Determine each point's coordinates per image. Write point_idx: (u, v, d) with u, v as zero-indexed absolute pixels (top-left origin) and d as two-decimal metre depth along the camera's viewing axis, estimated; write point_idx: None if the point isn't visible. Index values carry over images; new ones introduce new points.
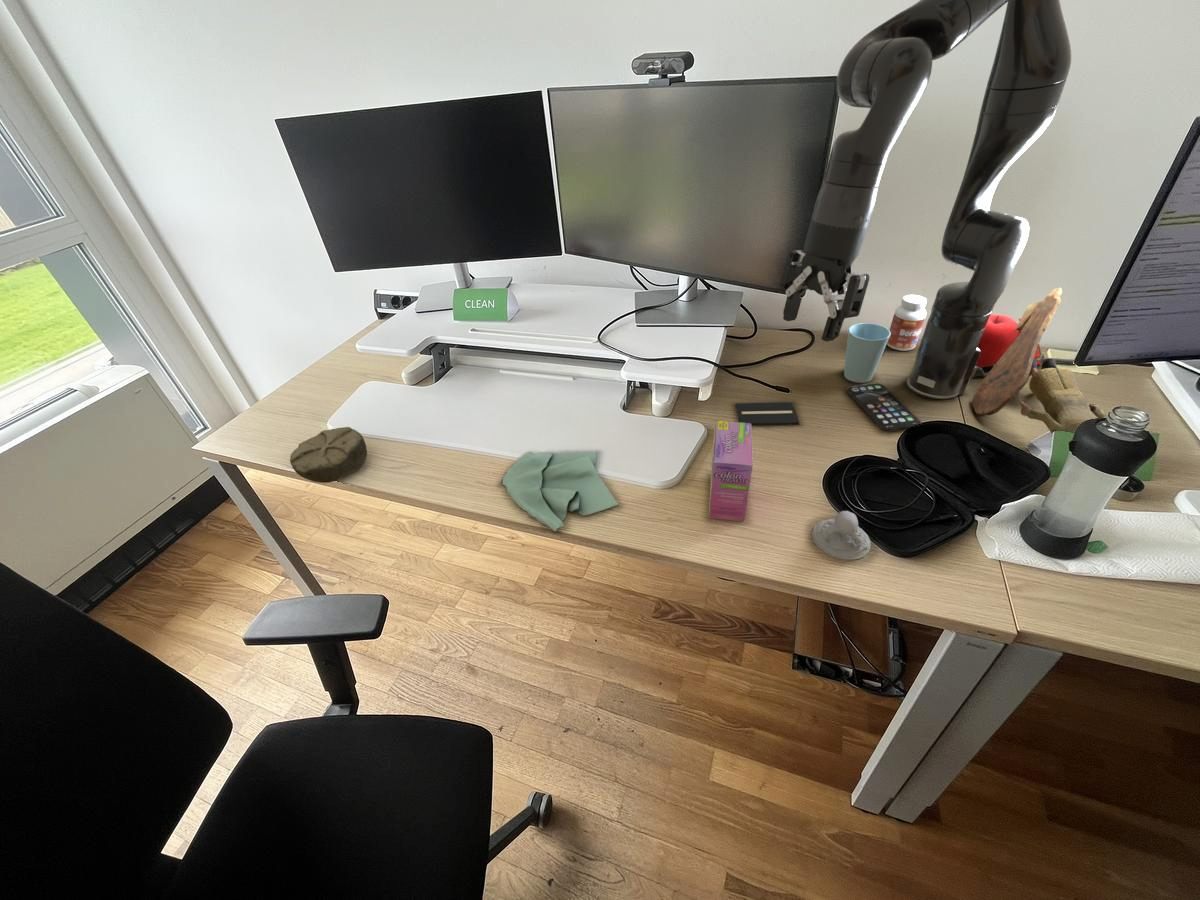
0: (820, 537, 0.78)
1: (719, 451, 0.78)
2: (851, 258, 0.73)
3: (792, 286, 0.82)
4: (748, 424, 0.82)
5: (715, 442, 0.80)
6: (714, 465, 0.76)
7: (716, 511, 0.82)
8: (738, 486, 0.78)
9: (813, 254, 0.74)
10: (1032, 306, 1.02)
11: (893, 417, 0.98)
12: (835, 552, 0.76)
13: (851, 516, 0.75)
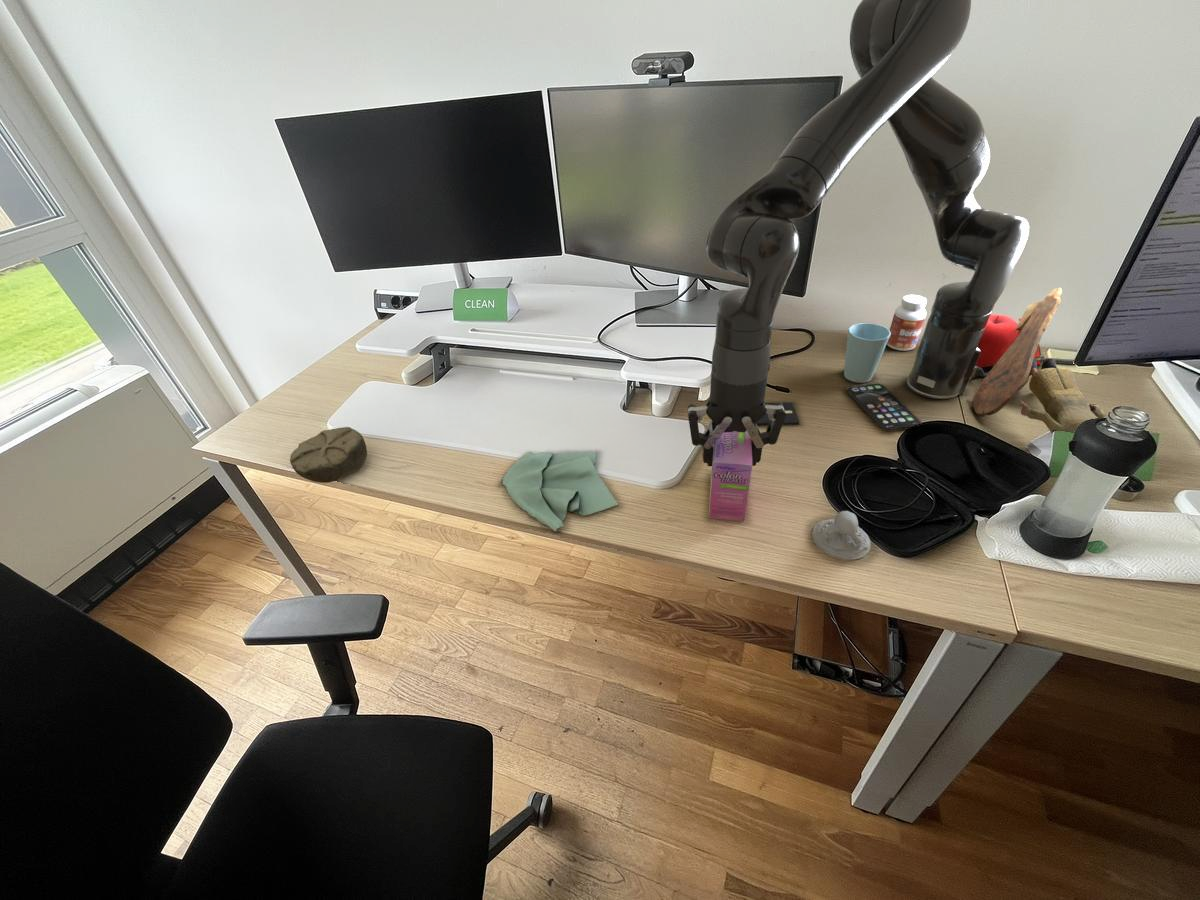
0: (820, 537, 0.78)
1: (718, 451, 0.78)
2: None
3: (710, 439, 0.78)
4: None
5: (715, 442, 0.80)
6: (714, 465, 0.76)
7: (716, 511, 0.82)
8: (737, 486, 0.78)
9: (743, 410, 0.71)
10: (1032, 306, 1.02)
11: (893, 417, 0.98)
12: (835, 552, 0.76)
13: (851, 516, 0.75)
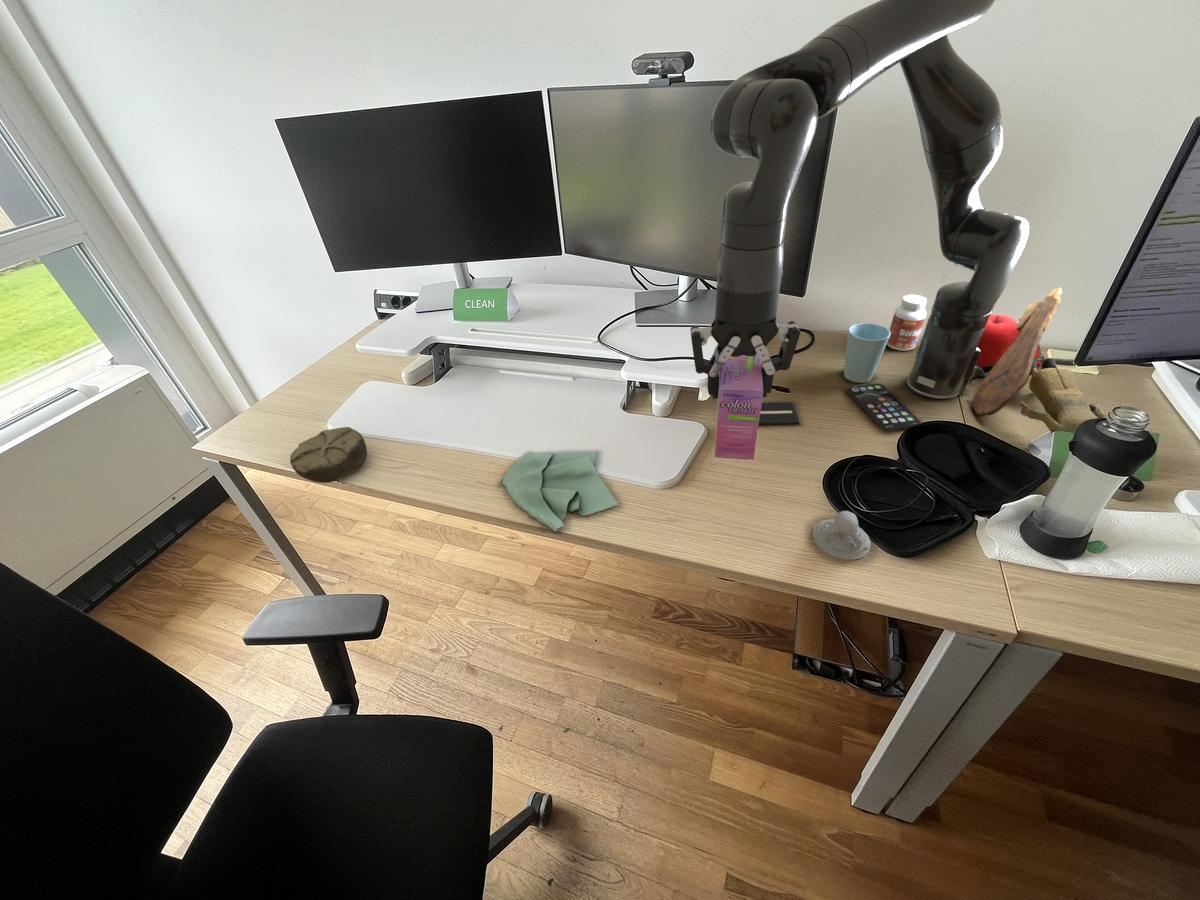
0: (820, 537, 0.78)
1: (725, 378, 0.70)
2: None
3: (715, 365, 0.70)
4: None
5: (721, 370, 0.72)
6: (720, 392, 0.69)
7: (723, 448, 0.74)
8: (746, 417, 0.70)
9: (753, 325, 0.64)
10: (1032, 306, 1.02)
11: (893, 417, 0.98)
12: (835, 552, 0.76)
13: (851, 517, 0.75)
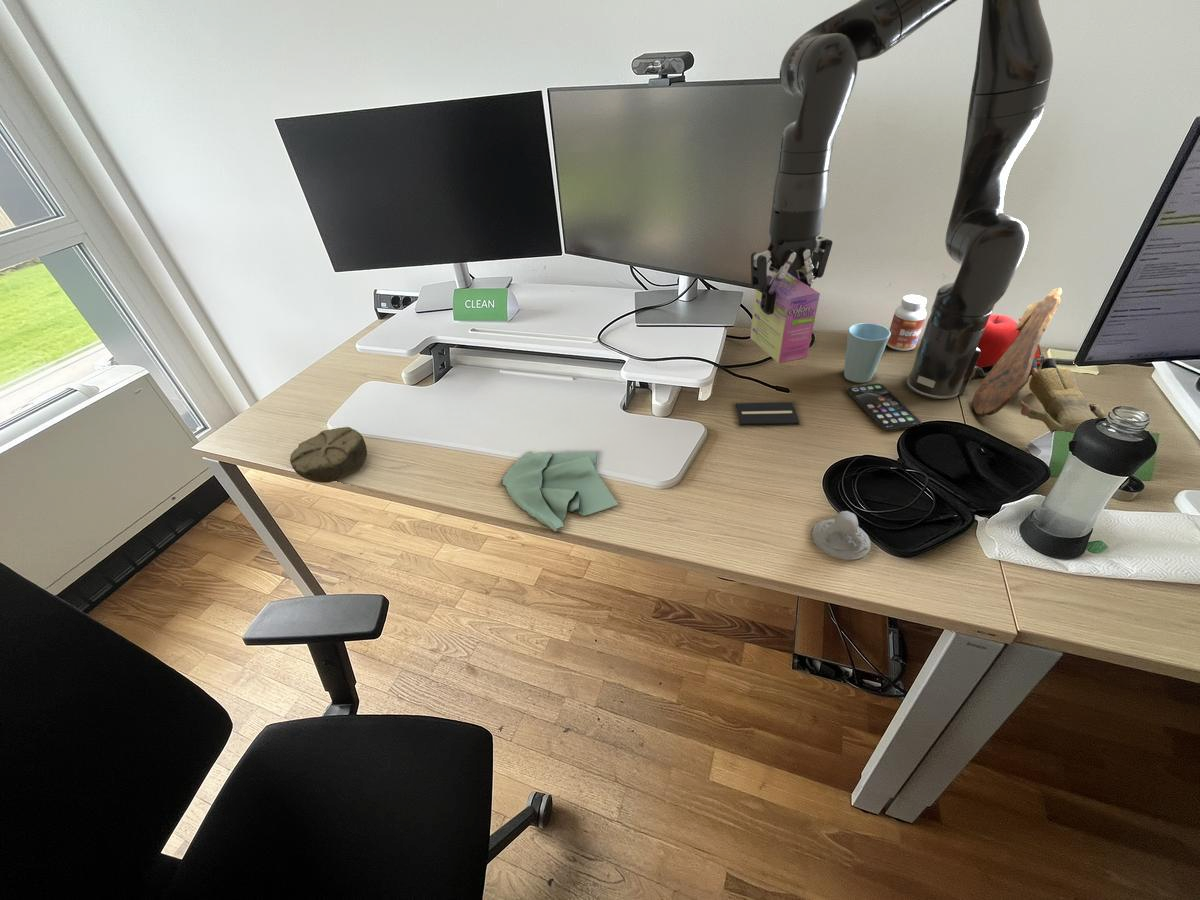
0: (820, 537, 0.78)
1: (784, 291, 0.84)
2: None
3: (774, 282, 0.84)
4: None
5: None
6: (789, 301, 0.83)
7: (785, 353, 0.89)
8: (806, 319, 0.86)
9: (812, 238, 0.79)
10: (1032, 306, 1.02)
11: (893, 417, 0.98)
12: (835, 552, 0.76)
13: (851, 517, 0.75)
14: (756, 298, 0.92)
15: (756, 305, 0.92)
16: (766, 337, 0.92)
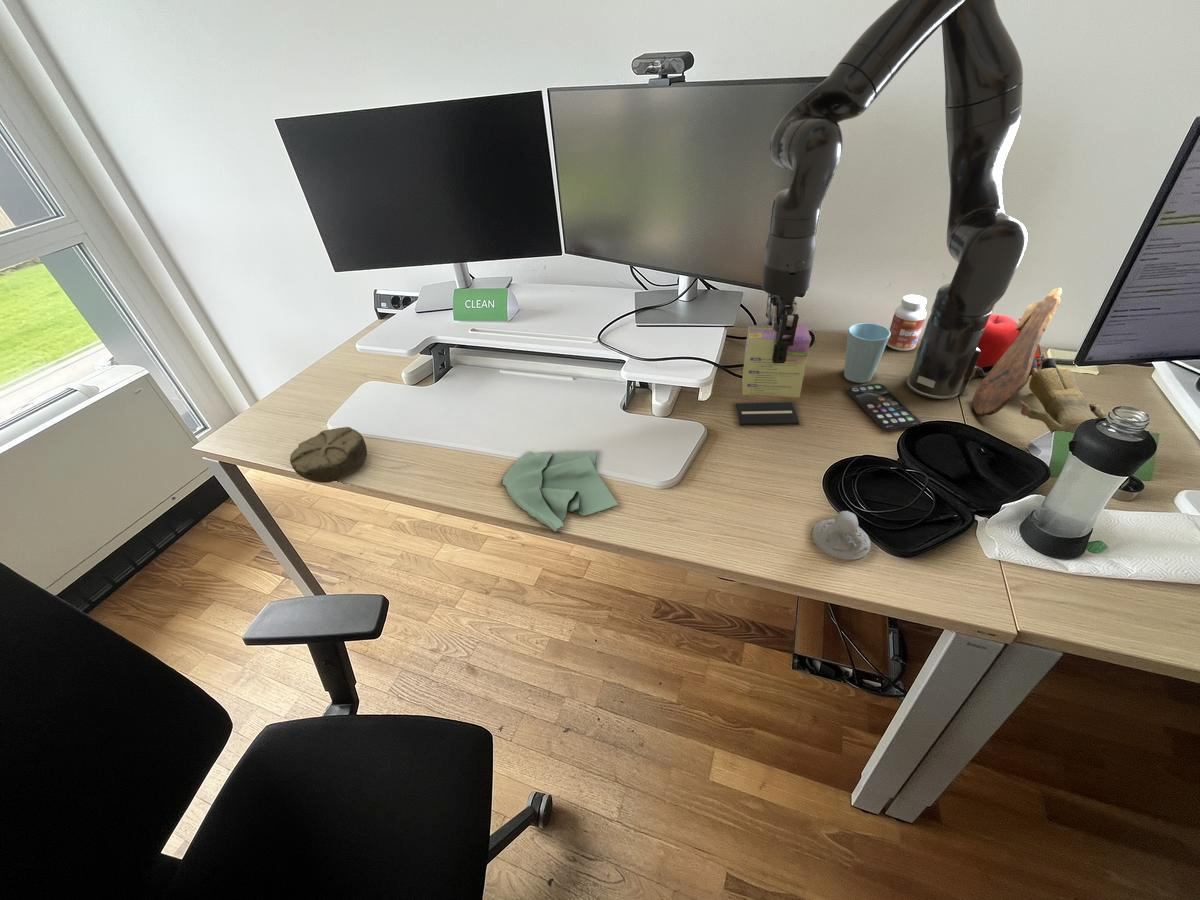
0: (820, 537, 0.78)
1: None
2: None
3: None
4: (750, 325, 0.95)
5: None
6: (809, 342, 0.90)
7: None
8: None
9: None
10: (1032, 306, 1.02)
11: (893, 417, 0.98)
12: (835, 552, 0.76)
13: (851, 517, 0.75)
14: (750, 357, 0.94)
15: (751, 363, 0.94)
16: (774, 384, 0.96)
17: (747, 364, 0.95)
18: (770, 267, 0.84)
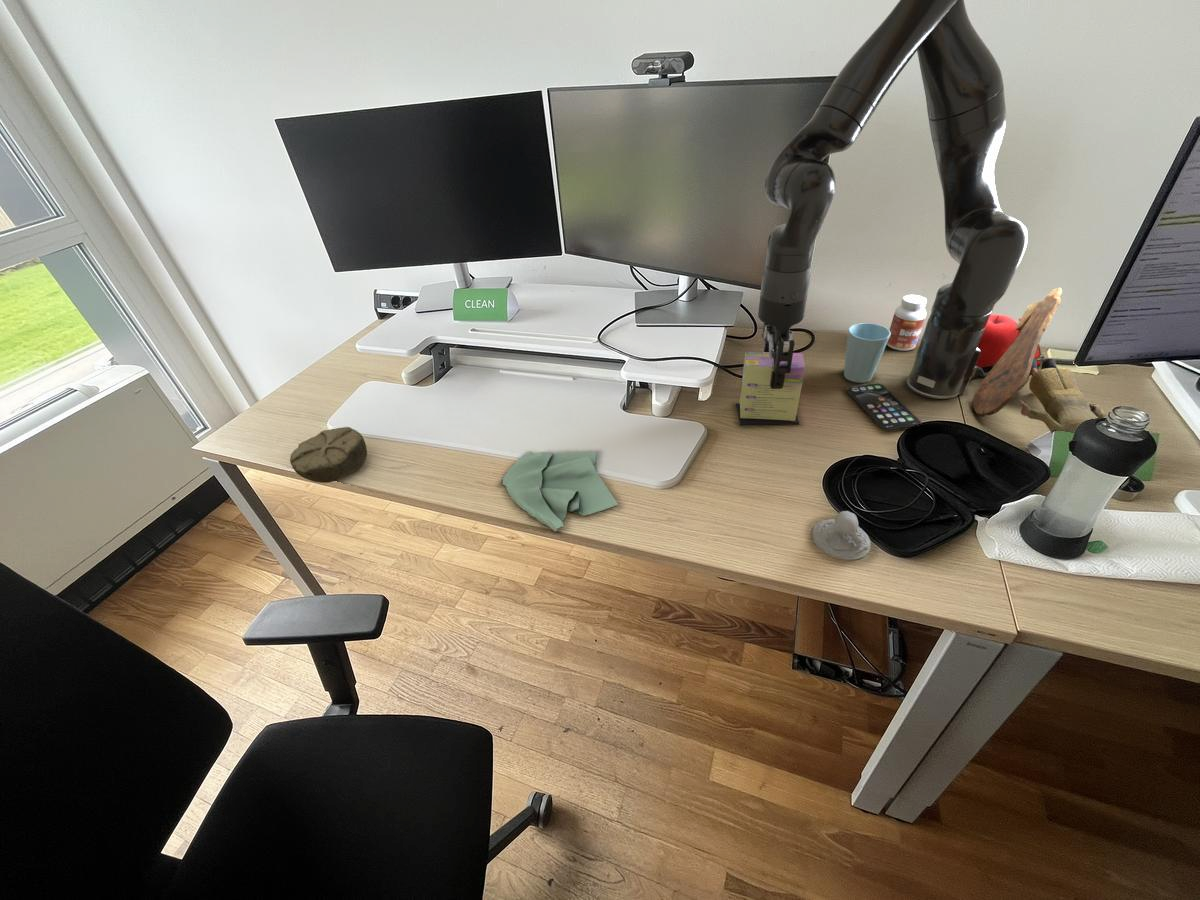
0: (820, 537, 0.78)
1: None
2: None
3: None
4: (747, 352, 0.99)
5: None
6: (804, 369, 0.93)
7: None
8: None
9: None
10: (1032, 306, 1.02)
11: (893, 417, 0.98)
12: (835, 552, 0.76)
13: (851, 517, 0.75)
14: (747, 383, 0.97)
15: (748, 388, 0.98)
16: (770, 408, 0.99)
17: (744, 389, 0.98)
18: (766, 299, 0.87)
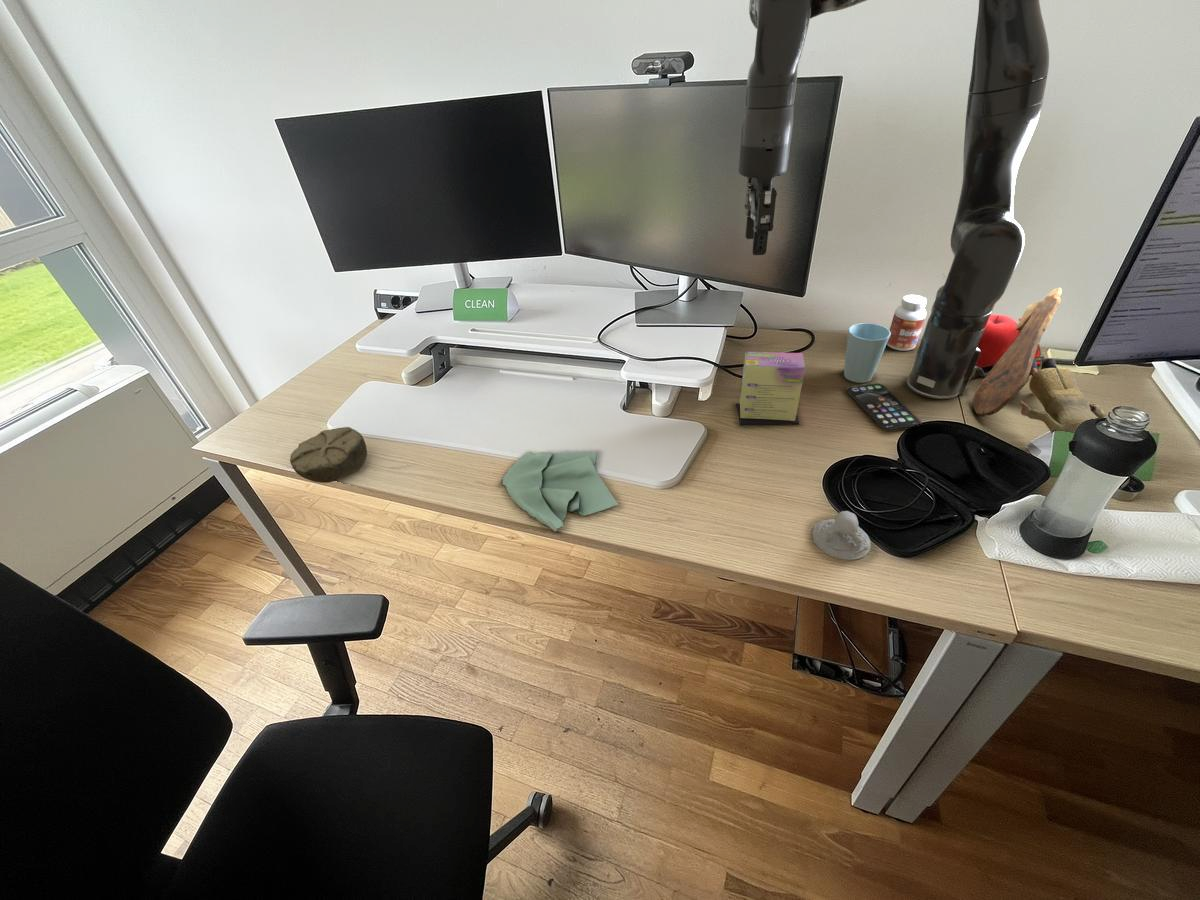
0: (820, 537, 0.78)
1: (789, 364, 0.94)
2: None
3: None
4: (747, 352, 0.99)
5: (777, 366, 0.94)
6: (804, 369, 0.93)
7: None
8: None
9: None
10: (1032, 306, 1.02)
11: (893, 417, 0.98)
12: (835, 552, 0.76)
13: (851, 517, 0.75)
14: (747, 383, 0.97)
15: (748, 388, 0.98)
16: (770, 408, 0.99)
17: (744, 389, 0.98)
18: (747, 146, 0.81)
